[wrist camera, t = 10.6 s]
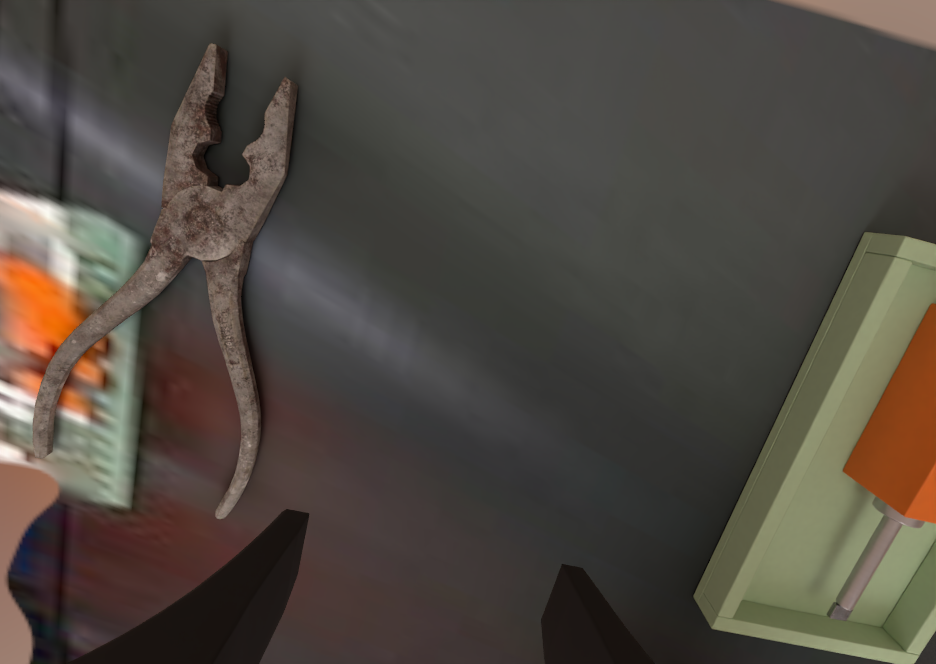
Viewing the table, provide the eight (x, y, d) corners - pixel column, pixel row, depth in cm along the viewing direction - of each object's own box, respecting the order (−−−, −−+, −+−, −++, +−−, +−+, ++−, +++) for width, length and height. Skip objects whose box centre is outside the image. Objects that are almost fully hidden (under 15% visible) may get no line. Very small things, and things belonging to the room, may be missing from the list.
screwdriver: (930, 302, 21) (1018, 323, 18) (999, 321, 21) (1098, 344, 18) (781, 584, 25) (830, 643, 22) (841, 595, 25) (898, 656, 22)
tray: (879, 632, 27) (912, 667, 25) (692, 596, 26) (711, 629, 24) (1089, 293, 21) (1152, 303, 19) (864, 231, 20) (906, 235, 18)
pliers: (29, 491, 22) (10, -6, 16) (44, 480, 23) (32, 3, 17) (245, 527, 23) (296, 64, 17) (253, 515, 24) (303, 69, 18)
